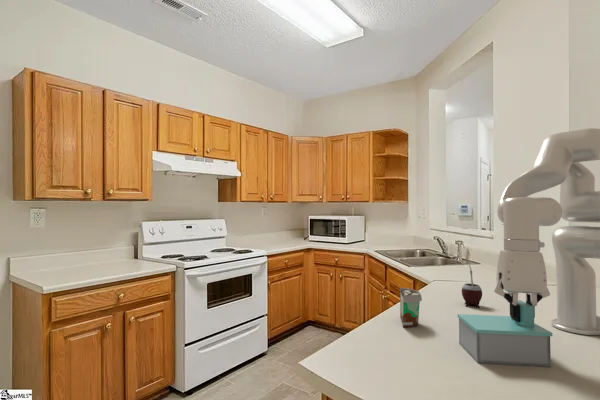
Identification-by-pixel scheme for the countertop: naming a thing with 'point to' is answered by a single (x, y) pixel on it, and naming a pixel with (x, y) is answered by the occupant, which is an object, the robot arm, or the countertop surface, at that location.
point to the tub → (505, 348)
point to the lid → (506, 323)
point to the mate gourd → (471, 293)
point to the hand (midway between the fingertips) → (522, 320)
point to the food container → (409, 307)
